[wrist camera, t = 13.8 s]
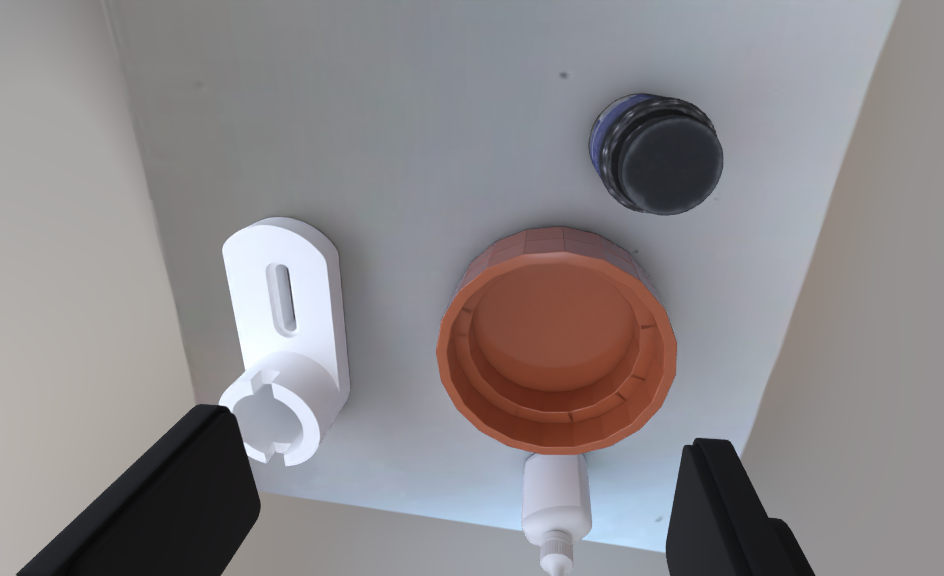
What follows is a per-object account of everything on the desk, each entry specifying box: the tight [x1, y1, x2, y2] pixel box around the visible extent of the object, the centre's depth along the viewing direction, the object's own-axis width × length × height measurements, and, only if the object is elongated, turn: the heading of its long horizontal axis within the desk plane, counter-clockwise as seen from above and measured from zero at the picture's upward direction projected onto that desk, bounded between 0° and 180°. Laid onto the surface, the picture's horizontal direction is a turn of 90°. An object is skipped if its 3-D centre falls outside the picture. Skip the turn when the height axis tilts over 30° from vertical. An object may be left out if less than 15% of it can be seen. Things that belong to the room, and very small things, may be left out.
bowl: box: [436, 227, 677, 455], centre depth 37 cm, size 17×17×6 cm
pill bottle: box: [589, 94, 723, 215], centre depth 28 cm, size 6×6×11 cm
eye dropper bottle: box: [521, 453, 592, 576], centre depth 40 cm, size 4×6×12 cm
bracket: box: [219, 217, 350, 466], centre depth 40 cm, size 20×9×7 cm, turn 178°
